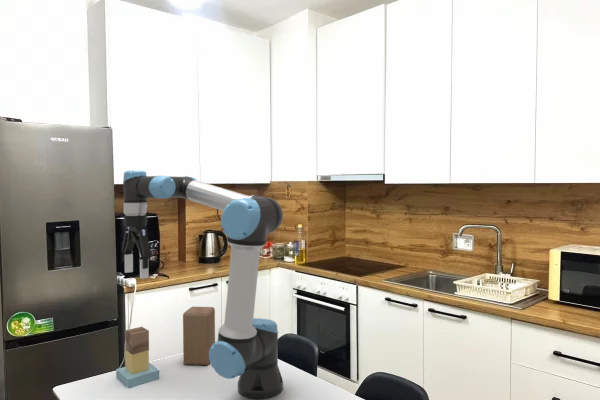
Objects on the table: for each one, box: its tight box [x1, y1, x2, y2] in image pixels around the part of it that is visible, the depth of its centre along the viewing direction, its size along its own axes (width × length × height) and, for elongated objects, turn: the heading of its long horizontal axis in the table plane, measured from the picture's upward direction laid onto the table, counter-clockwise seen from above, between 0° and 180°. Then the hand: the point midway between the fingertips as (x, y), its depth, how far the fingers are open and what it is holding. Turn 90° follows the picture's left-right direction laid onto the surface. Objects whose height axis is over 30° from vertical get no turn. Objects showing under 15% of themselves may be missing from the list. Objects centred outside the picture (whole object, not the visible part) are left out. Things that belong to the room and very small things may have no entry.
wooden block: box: [182, 306, 216, 366], centre depth 169 cm, size 10×10×20 cm
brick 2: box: [124, 349, 150, 374], centre depth 154 cm, size 6×6×7 cm
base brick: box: [115, 362, 160, 389], centre depth 154 cm, size 11×11×3 cm
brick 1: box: [124, 326, 150, 355], centre depth 154 cm, size 6×6×7 cm
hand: (136, 275), depth 153 cm, fingers open, 13 cm apart
